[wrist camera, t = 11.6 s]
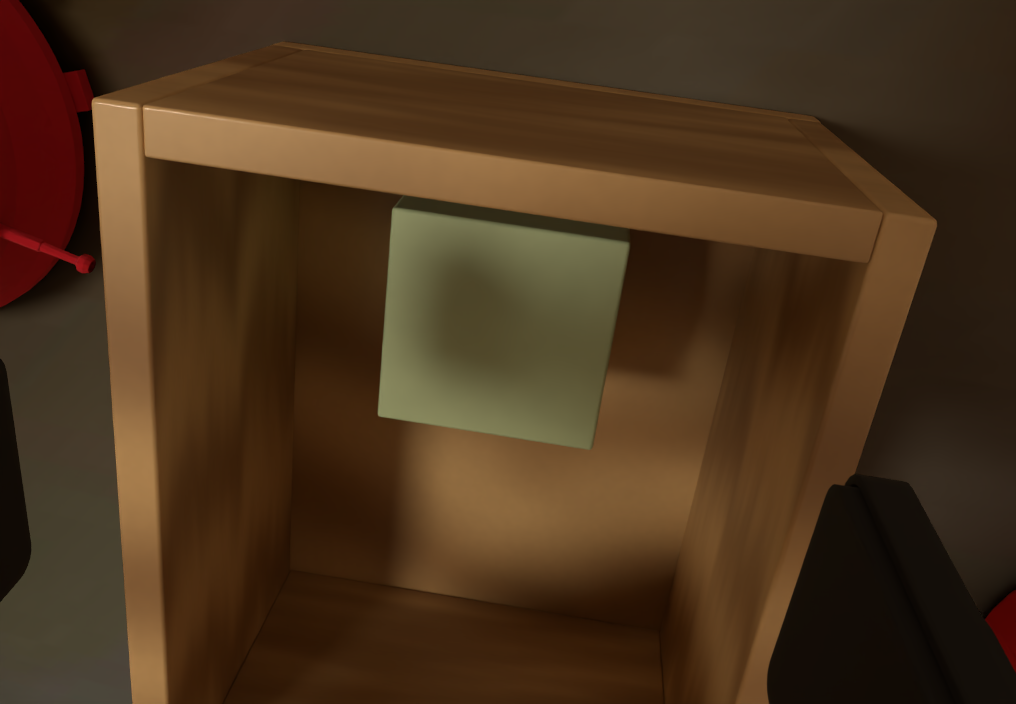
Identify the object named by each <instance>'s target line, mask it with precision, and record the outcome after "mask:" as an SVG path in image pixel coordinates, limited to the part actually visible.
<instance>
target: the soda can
mask: <svg viewBox="0 0 1016 704" xmlns="http://www.w3.org/2000/svg"><path fill="white" fill-rule="evenodd" d="M985 620H986V622H987V623H988V624H989V626H990V627H991V628H992V630H993V632H994V634H995V635H996V637H997V639H998V641H999V643H1000V645H1001V646H1002V648H1003V650H1004V652H1005V654H1006V656H1007V657H1008V659H1009V661H1010V663H1011V665H1012V667H1013V668H1014V670H1015V672H1016V589H1015V590H1014V591H1012V592H1011V593H1009V594H1008V595H1007V596H1006V597H1005V598H1004V599H1003V600H1002V601H1001V602H1000V603H999V604H997V605H996V606H995V607H994V608H993V609H992V611H991V612H990V613H989V615H988V616H987V617H986V619H985Z"/></svg>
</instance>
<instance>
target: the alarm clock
mask: <svg viewBox="0 0 1016 704" xmlns="http://www.w3.org/2000/svg"><path fill="white" fill-rule="evenodd" d="M93 98H94V96H93V93H92V90H91V87H90V84H89V81H88V78H87V75H86V72H85V69H82V70H78V71H73V72H67V73H63V72H62V70H61V68H60V66H59V64H58V61H57V59H56V57H55V55H54V53H53V51H52V50H51V48H50V46H49V44H48V42H47V41H46V39H45V37H44V35H43V34H42V32H41V31H40V29H39V28H38V26H37V25H36V23H35V22H34V20H33V19H32V17H31V16H30V15H29V13H28V12H27V11H26V9H25V8H24V6H23V5H22V4H21V3H20V1H19V0H0V307H2V306H4V305H6V304H8V303H10V302H11V301H13V300H15V299H16V298H18V297H19V296H21V295H22V294H24V293H26V292H27V291H29V290H30V289H32V288H33V287H34V286H35V285H36V284H37V283H38V282H39V281H40V280H41V279H43V278H44V277H45V276H46V275H47V274H48V272H49V271H50V270H51V269H52V267H53V266H54V265H55V264H56V263H57V261H58V260H59V259H62V260H64V261H67V262H70V263H72V264H75V265H76V269H77V271H79V272H81V273H90V272H92V271H93V269H94V267H95V264H96V261H95V260H94V258H93V257H92V256H91V255H88V254H83V255H81V256H76V255H74V254H71V253H69V252H67V251H64V250H65V248H66V246H67V244H68V243H69V241H70V238H71V236H72V233H73V231H74V228H75V225H76V222H77V218H78V215H79V211H80V207H81V201H82V195H83V184H84V154H83V143H82V134H81V129H80V124H79V119H78V116H77V112H83V111H89V110H92V100H93Z"/></svg>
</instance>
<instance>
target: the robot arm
mask: <svg viewBox="0 0 1016 704" xmlns="http://www.w3.org/2000/svg"><path fill="white" fill-rule="evenodd" d="M30 555H31V540H30V533H29V526H28V519H27V512H26V505H25V498H24V491H23V484H22V477H21V470H20V463H19V456H18V449H17V442H16V435H15V428H14V421H13V414H12V407H11V400H10V393H9V386H8V379H7V372H6V368H5V364H4V363H3V361H2V360H1V359H0V602H1V601H2V599H3V598H4V597H5V596H6V595H7V594H8V592H9V591H10V590H11V589H12V588H13V587H14V586H15V584H16V583H17V582H18V581H19V580H20V578H21V577H22V576H23V574H24V572H25V570H26V568H27V566H28V563H29V560H30ZM767 695H768V701H769V704H1016V672H1015V670H1014V668H1013V667H1012V665H1011V663H1010V661H1009V659H1008V657H1007V656H1006V654H1005V652H1004V650H1003V648H1002V646H1001V645H1000V643H999V641H998V639H997V637H996V635H995V634H994V632H993V630H992V628H991V627H990V626H989V624H988V623H987V622H986V620H985V619H984V618H983V617H982V616H981V615H980V613H979V611H978V609H977V607H976V605H975V603H974V602H973V600H972V598H971V596H970V594H969V592H968V590H967V589H966V587H965V585H964V583H963V581H962V579H961V577H960V576H959V574H958V572H957V570H956V568H955V566H954V564H953V563H952V561H951V559H950V557H949V555H948V553H947V551H946V550H945V548H944V546H943V544H942V542H941V540H940V538H939V537H938V535H937V533H936V531H935V529H934V527H933V525H932V524H931V522H930V520H929V518H928V516H927V514H926V512H925V511H924V509H923V507H922V505H921V503H920V501H919V499H918V498H917V496H916V494H915V492H914V490H913V488H912V487H911V486H910V485H909V483H907V482H904V481H897V480H891V479H884V478H878V477H871V476H864V475H858V474H854V475H852V476H850V477H849V479H848V480H847V481H846V483H845V485H837V484H834V485H832V486H831V487H830V488H829V489H828V491H827V494H826V496H825V499H824V502H823V505H822V508H821V511H820V514H819V517H818V520H817V523H816V526H815V529H814V532H813V535H812V538H811V540H810V543H809V546H808V549H807V552H806V555H805V558H804V561H803V564H802V567H801V570H800V573H799V576H798V579H797V582H796V585H795V588H794V591H793V594H792V597H791V600H790V603H789V606H788V609H787V612H786V615H785V618H784V621H783V624H782V627H781V630H780V633H779V636H778V638H777V641H776V644H775V647H774V650H773V653H772V656H771V659H770V663H769V667H768V673H767Z"/></svg>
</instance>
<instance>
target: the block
mask: <svg viewBox="0 0 1016 704" xmlns="http://www.w3.org/2000/svg"><path fill="white" fill-rule="evenodd" d="M630 247H631V244H630V230H629V228H622V227H615V226H608V225H602V224H595V223H588V222H581V221H574V220H568V219H561V218H554V217H547V216H541V215H534V214H527V213H520V212H514V211H507V210H500V209H493V208H487V207H480V206H473V205H466V204H459V203H453V202H446V201H439V200H432V199H426V198H419V197H412V196H405V195H403V197H402V198H401V199H400V200H399V201H398V203H397V204H396V205H395V206H394V208H393V209H392V218H391V232H390V246H389V260H388V274H387V288H386V302H385V316H384V330H383V344H382V358H381V372H380V386H379V400H378V416H380V417H384V418H391V419H397V420H403V421H410V422H416V423H422V424H428V425H435V426H441V427H447V428H454V429H460V430H466V431H473V432H479V433H485V434H492V435H498V436H504V437H510V438H517V439H523V440H529V441H536V442H542V443H548V444H555V445H561V446H567V447H574V448H580V449H586V450H591V449H592V447H593V444H594V439H595V433H596V428H597V423H598V417H599V412H600V407H601V401H602V396H603V391H604V385H605V380H606V375H607V369H608V364H609V359H610V353H611V348H612V343H613V337H614V332H615V327H616V321H617V316H618V311H619V305H620V300H621V295H622V289H623V284H624V279H625V273H626V268H627V263H628V257H629V252H630Z"/></svg>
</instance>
